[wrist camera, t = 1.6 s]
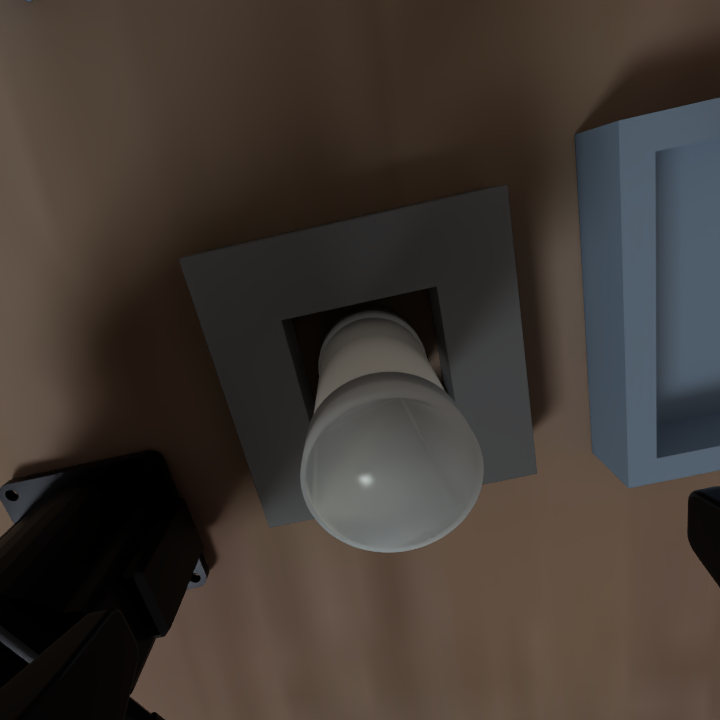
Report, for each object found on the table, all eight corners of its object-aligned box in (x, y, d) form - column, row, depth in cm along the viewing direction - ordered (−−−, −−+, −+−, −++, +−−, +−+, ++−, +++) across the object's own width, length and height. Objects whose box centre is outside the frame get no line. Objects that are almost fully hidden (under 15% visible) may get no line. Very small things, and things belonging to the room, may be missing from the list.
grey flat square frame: (276, 495, 19) (269, 527, 17) (198, 252, 16) (178, 258, 14) (517, 445, 18) (536, 473, 16) (487, 187, 15) (507, 184, 13)
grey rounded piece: (332, 412, 18) (324, 567, 10) (309, 319, 16) (279, 414, 9) (429, 392, 18) (494, 533, 10) (412, 297, 16) (470, 374, 9)
